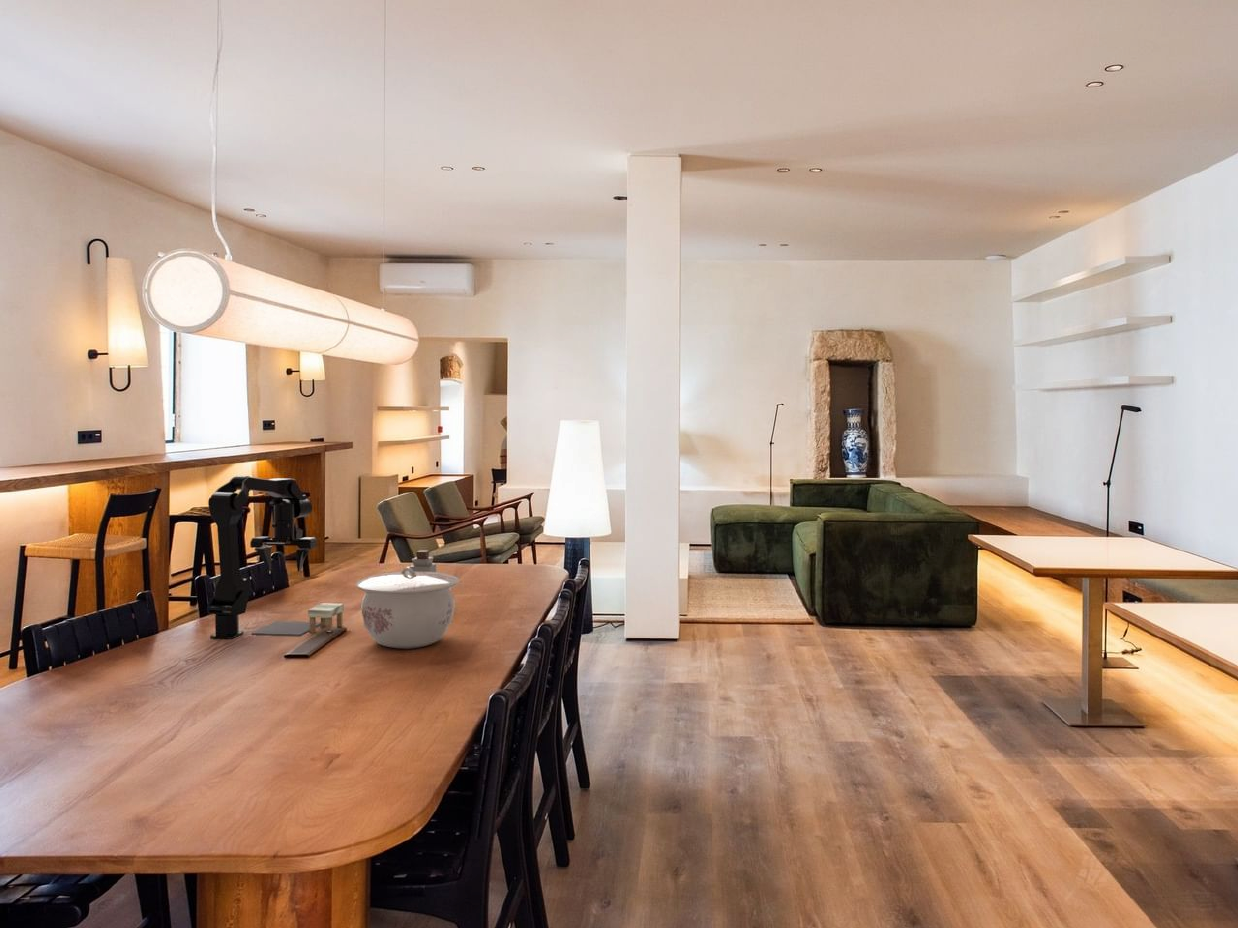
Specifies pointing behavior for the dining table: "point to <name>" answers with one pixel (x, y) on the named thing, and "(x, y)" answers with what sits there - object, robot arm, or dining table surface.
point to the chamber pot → (407, 607)
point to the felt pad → (285, 628)
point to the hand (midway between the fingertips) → (284, 570)
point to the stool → (325, 615)
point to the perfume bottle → (423, 562)
